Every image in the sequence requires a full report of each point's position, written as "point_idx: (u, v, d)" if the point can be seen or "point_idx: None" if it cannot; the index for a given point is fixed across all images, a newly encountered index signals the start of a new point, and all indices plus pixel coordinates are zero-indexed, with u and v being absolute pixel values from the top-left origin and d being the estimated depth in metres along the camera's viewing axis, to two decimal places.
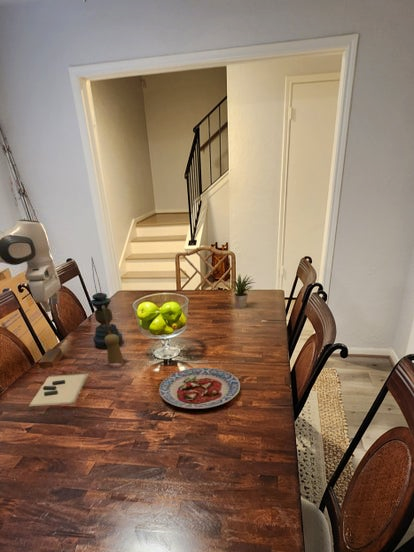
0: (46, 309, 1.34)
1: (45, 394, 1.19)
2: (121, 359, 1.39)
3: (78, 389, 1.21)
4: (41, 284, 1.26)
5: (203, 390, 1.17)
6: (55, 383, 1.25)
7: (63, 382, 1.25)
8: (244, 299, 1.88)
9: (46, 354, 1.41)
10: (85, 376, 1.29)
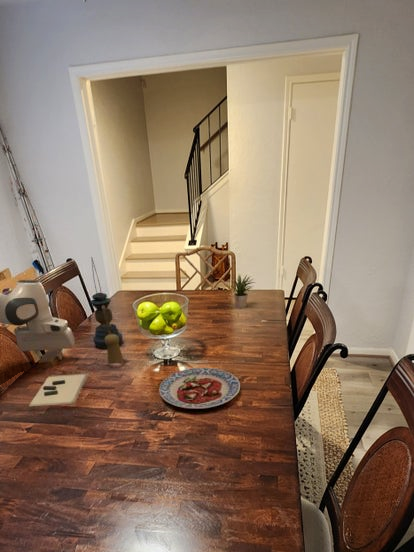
0: (60, 356, 1.41)
1: (45, 394, 1.19)
2: (121, 359, 1.39)
3: (78, 389, 1.21)
4: (70, 329, 1.38)
5: (203, 390, 1.17)
6: (55, 383, 1.25)
7: (63, 382, 1.25)
8: (244, 299, 1.88)
9: (46, 354, 1.41)
10: (85, 376, 1.29)
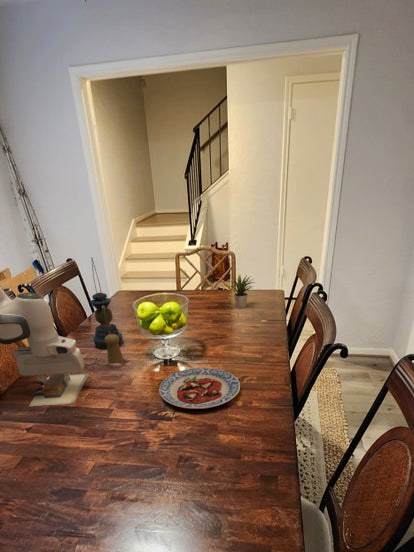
0: (67, 381, 1.21)
1: (34, 394, 1.19)
2: (121, 359, 1.39)
3: (78, 389, 1.21)
4: (79, 350, 1.18)
5: (203, 390, 1.17)
6: None
7: None
8: (244, 299, 1.88)
9: (51, 378, 1.21)
10: (85, 376, 1.29)
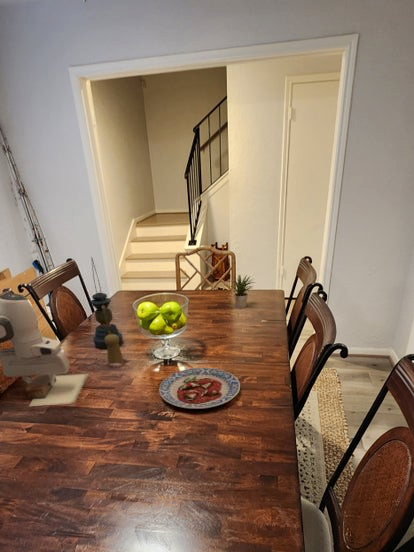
0: (53, 382, 1.21)
1: None
2: (121, 359, 1.39)
3: (78, 389, 1.21)
4: None
5: (203, 390, 1.17)
6: None
7: None
8: (244, 299, 1.88)
9: (36, 379, 1.21)
10: (85, 376, 1.29)
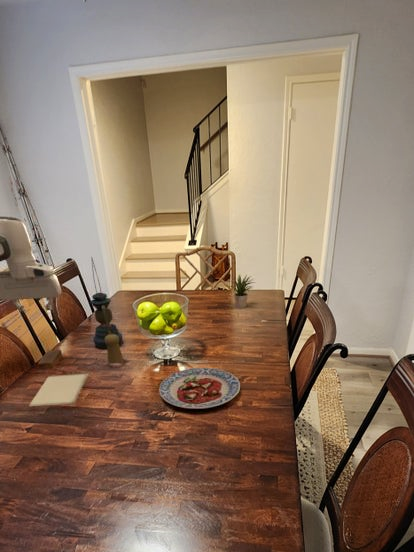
0: (50, 307, 1.30)
1: None
2: (121, 359, 1.39)
3: (78, 389, 1.21)
4: None
5: (203, 390, 1.17)
6: None
7: None
8: (244, 299, 1.88)
9: (46, 355, 1.40)
10: (85, 376, 1.29)
